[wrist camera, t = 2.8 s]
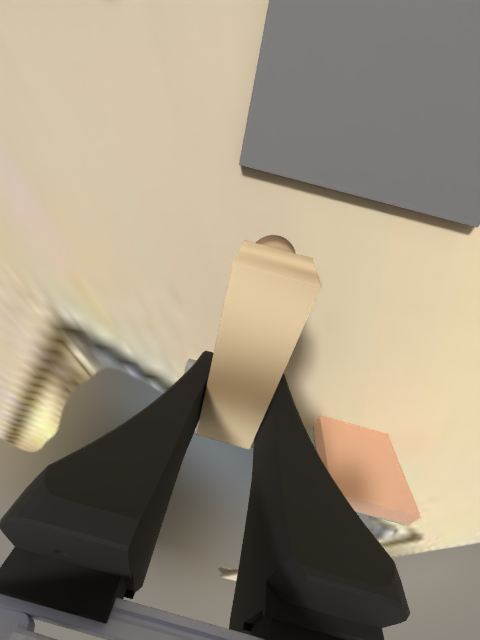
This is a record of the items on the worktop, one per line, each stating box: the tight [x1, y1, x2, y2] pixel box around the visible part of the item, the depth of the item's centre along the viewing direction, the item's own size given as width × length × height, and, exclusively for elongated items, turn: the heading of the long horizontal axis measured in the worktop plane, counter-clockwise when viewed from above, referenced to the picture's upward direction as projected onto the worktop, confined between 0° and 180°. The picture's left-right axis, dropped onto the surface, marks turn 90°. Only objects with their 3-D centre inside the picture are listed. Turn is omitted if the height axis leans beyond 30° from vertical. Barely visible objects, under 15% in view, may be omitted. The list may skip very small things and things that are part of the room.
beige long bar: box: [185, 235, 322, 449], centre depth 12 cm, size 14×6×4 cm, turn 167°
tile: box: [313, 416, 421, 525], centre depth 22 cm, size 7×2×7 cm, turn 77°
